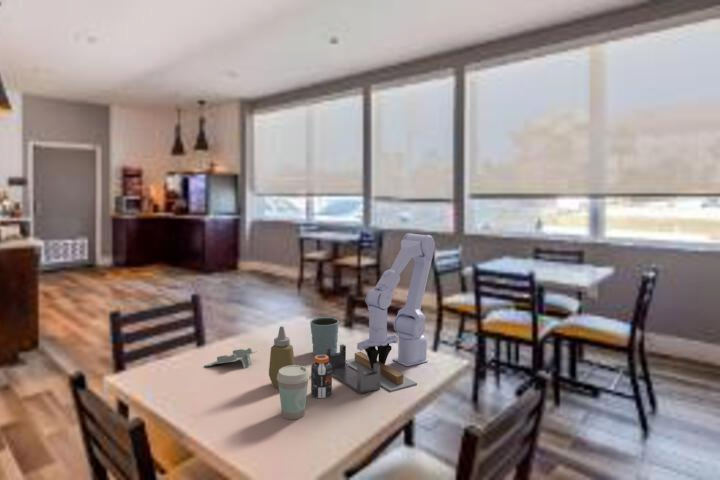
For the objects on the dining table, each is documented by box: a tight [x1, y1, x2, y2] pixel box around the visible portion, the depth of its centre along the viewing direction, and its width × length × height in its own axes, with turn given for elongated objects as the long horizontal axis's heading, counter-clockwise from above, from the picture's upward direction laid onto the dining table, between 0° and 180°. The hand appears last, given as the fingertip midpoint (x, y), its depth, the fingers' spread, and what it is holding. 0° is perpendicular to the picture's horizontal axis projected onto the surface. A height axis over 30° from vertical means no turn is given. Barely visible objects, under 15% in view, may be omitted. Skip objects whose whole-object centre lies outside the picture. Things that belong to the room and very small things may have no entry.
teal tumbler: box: [309, 316, 340, 357], centre depth 172 cm, size 10×10×12 cm
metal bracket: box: [203, 347, 258, 369], centre depth 163 cm, size 14×6×15 cm
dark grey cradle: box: [325, 343, 381, 395], centre depth 149 cm, size 7×22×8 cm, turn 32°
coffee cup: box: [277, 364, 311, 420], centre depth 126 cm, size 8×8×12 cm
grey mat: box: [346, 357, 418, 393], centre depth 155 cm, size 10×28×1 cm, turn 32°
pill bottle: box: [310, 355, 333, 399], centre depth 138 cm, size 6×6×11 cm
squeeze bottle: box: [268, 325, 296, 389], centre depth 144 cm, size 8×8×18 cm
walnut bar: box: [354, 351, 404, 384], centre depth 155 cm, size 2×24×2 cm, turn 32°
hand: (377, 367), depth 155 cm, fingers closed on walnut bar, 2 cm apart
